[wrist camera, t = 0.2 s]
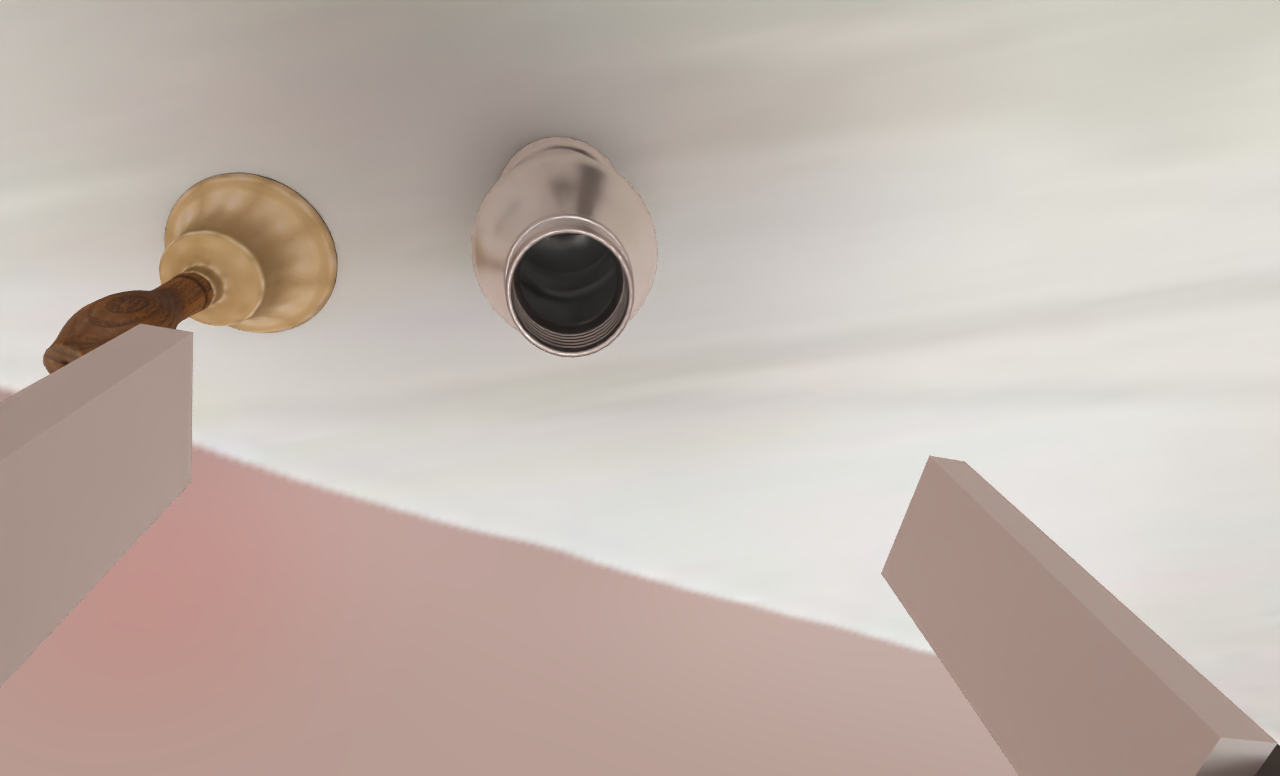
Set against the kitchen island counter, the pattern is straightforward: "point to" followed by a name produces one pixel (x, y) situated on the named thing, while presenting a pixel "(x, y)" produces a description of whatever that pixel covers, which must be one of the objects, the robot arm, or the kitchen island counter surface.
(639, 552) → the kitchen island counter surface
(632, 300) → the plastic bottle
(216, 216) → the hand bell
